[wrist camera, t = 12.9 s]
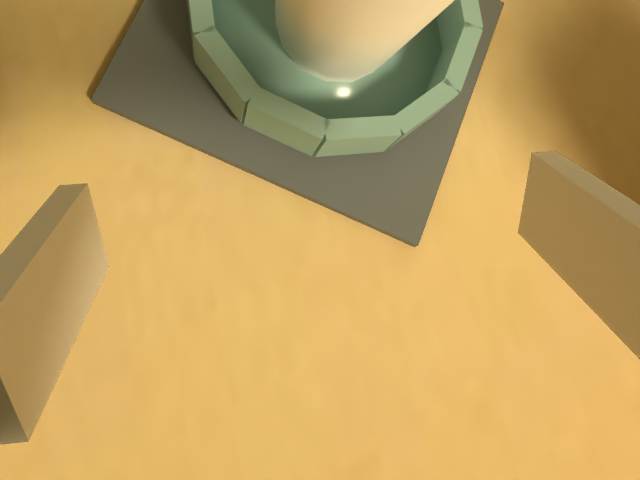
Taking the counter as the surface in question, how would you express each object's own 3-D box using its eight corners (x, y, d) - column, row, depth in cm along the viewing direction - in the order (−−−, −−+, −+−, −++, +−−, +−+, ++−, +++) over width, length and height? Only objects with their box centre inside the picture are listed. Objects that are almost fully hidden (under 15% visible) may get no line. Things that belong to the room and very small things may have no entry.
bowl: (141, 84, 26) (132, 50, 22) (255, -136, 29) (261, -194, 26) (400, 203, 28) (425, 188, 25) (480, -14, 31) (512, -54, 28)
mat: (93, 102, 26) (90, 99, 25) (223, -141, 29) (223, -149, 29) (414, 246, 28) (418, 245, 28) (499, 7, 32) (504, 2, 31)
